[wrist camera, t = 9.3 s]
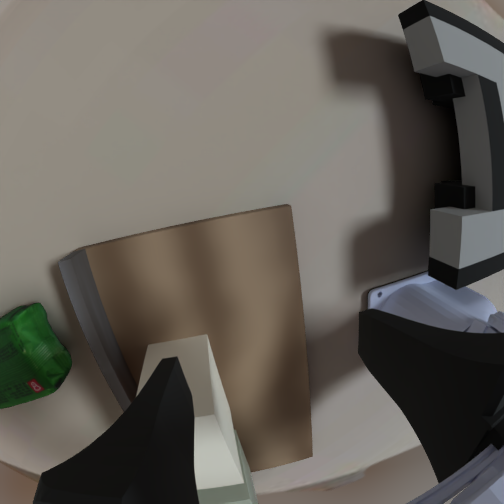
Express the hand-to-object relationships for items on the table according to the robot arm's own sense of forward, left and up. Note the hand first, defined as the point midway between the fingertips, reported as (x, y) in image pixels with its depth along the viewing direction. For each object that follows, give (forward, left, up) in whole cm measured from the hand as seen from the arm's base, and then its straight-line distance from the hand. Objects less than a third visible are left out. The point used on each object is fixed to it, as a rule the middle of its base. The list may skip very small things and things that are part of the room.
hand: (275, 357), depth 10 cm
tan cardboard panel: (+4, +10, -10) cm, 15 cm away
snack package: (+22, +4, -11) cm, 25 cm away
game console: (-30, -7, -11) cm, 33 cm away
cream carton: (+5, +8, -9) cm, 13 cm away
